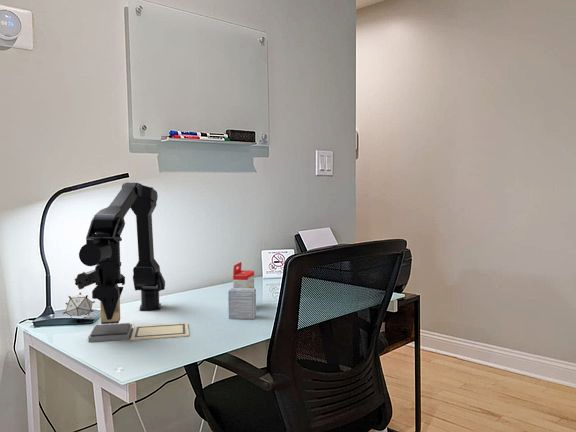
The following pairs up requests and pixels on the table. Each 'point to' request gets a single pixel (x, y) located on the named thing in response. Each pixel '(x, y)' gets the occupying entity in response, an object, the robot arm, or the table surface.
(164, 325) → the card sheet
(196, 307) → the table surface
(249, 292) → the medicine box
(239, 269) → the ink box
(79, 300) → the game die
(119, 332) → the ink pad
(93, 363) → the table surface
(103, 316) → the stamp
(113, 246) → the robot arm
